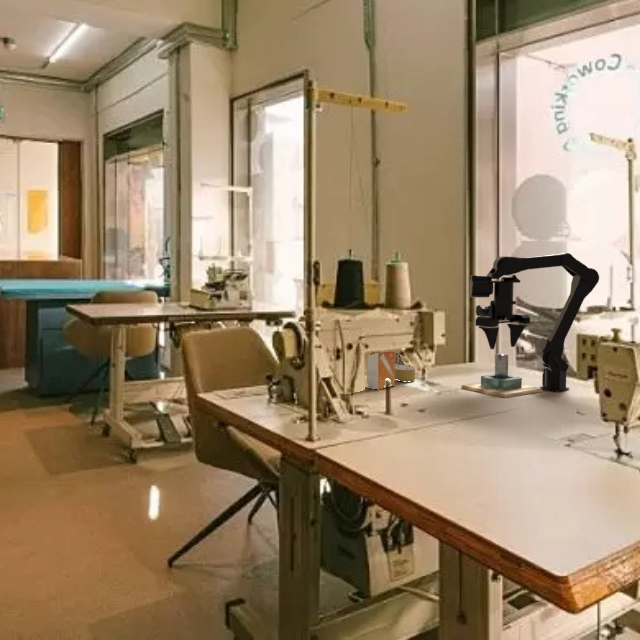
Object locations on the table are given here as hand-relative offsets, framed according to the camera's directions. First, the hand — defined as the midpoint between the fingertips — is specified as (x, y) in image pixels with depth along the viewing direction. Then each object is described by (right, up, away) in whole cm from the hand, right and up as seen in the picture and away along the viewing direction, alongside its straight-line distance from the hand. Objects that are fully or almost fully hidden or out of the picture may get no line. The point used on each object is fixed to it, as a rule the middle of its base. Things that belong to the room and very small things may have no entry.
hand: (502, 348), depth 230 cm
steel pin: (0, -12, +1) cm, 12 cm away
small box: (-38, -13, +6) cm, 40 cm away
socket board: (0, -13, +1) cm, 13 cm away
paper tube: (-28, -12, +17) cm, 35 cm away
